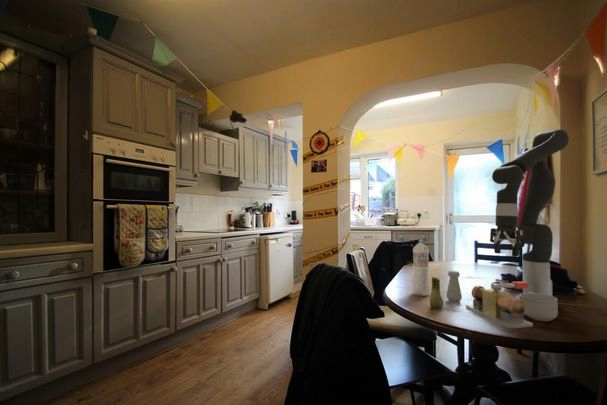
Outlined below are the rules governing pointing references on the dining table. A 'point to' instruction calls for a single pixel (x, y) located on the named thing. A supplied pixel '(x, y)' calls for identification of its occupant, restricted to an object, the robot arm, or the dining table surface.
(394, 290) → the dining table surface
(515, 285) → the valve lever
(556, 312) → the teacup
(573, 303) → the dining table surface
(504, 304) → the pipe run
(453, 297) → the salt shaker
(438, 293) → the fennel bulb
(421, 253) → the water bottle
